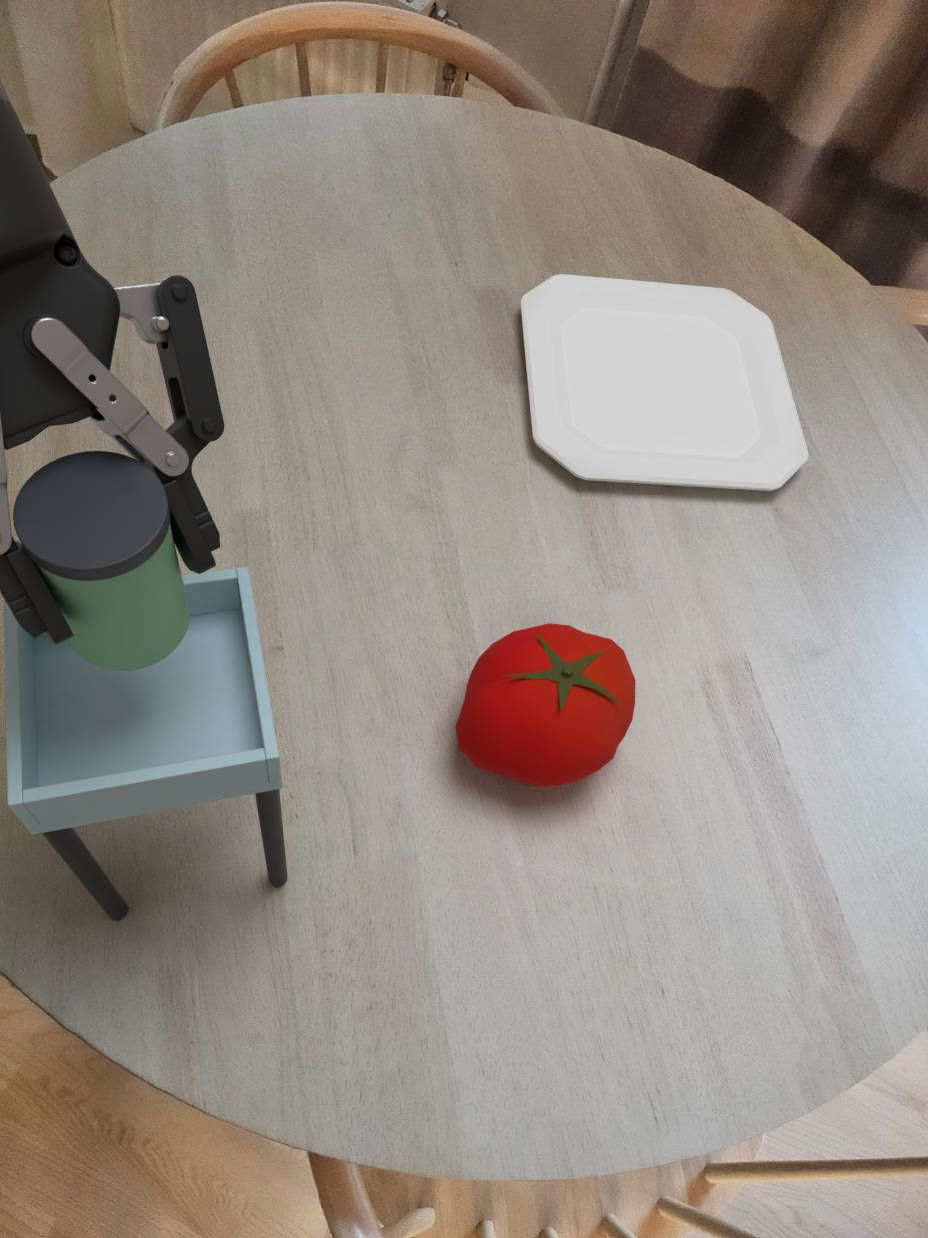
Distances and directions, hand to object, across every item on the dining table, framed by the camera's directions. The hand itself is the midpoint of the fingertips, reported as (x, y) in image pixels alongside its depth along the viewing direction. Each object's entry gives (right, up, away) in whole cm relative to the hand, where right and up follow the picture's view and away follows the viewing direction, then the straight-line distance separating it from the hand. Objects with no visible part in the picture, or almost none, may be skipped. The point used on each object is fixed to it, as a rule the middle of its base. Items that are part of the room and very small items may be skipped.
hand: (134, 599), depth 36 cm
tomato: (+17, -9, +32) cm, 38 cm away
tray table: (-5, -14, +25) cm, 30 cm away
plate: (+30, +20, +51) cm, 63 cm away
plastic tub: (-2, -1, +4) cm, 5 cm away
